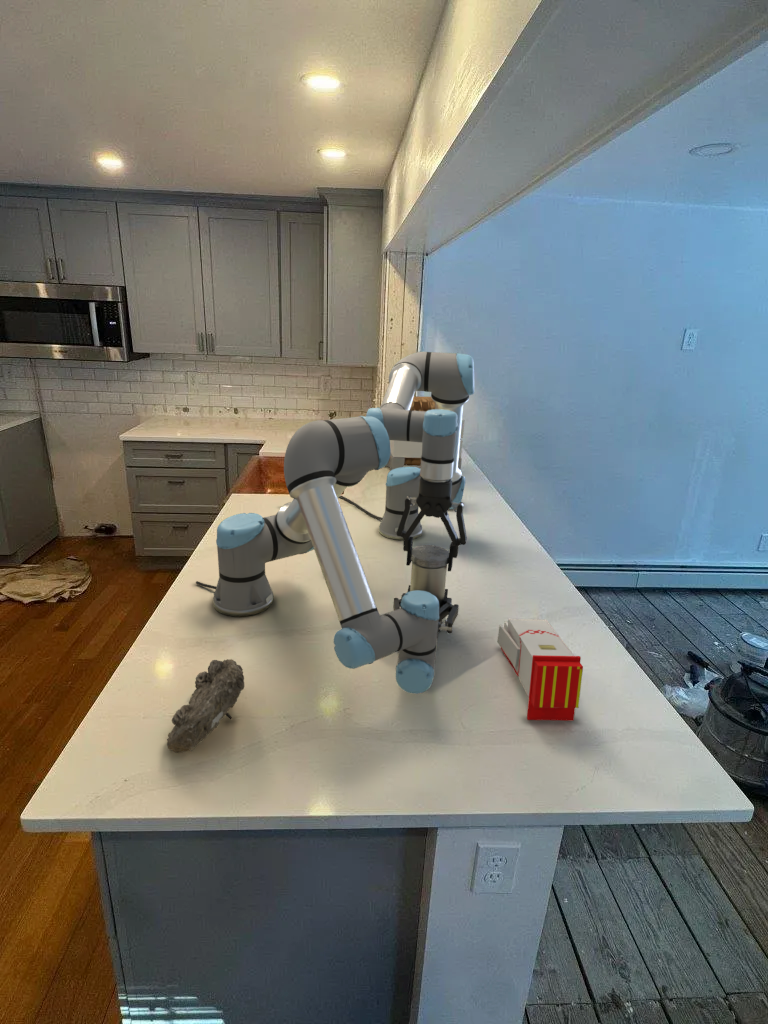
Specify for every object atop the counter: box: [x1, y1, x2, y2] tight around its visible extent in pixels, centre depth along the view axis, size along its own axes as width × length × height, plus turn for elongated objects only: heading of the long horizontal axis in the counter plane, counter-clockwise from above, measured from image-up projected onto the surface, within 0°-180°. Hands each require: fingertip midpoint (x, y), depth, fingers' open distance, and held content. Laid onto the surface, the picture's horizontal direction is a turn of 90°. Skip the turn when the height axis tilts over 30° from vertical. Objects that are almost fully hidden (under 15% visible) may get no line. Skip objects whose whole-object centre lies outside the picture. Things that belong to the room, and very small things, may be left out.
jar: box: [410, 561, 448, 624], centre depth 141 cm, size 9×9×19 cm
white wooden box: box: [385, 395, 465, 472], centre depth 268 cm, size 34×33×41 cm
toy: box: [497, 618, 584, 722], centre depth 122 cm, size 12×13×30 cm
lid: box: [410, 544, 449, 568], centre depth 138 cm, size 10×10×2 cm
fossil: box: [166, 658, 245, 754], centre depth 106 cm, size 22×10×15 cm
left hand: (428, 591), depth 146 cm, fingers closed on jar, 9 cm apart
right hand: (429, 566), depth 138 cm, fingers closed on lid, 9 cm apart
